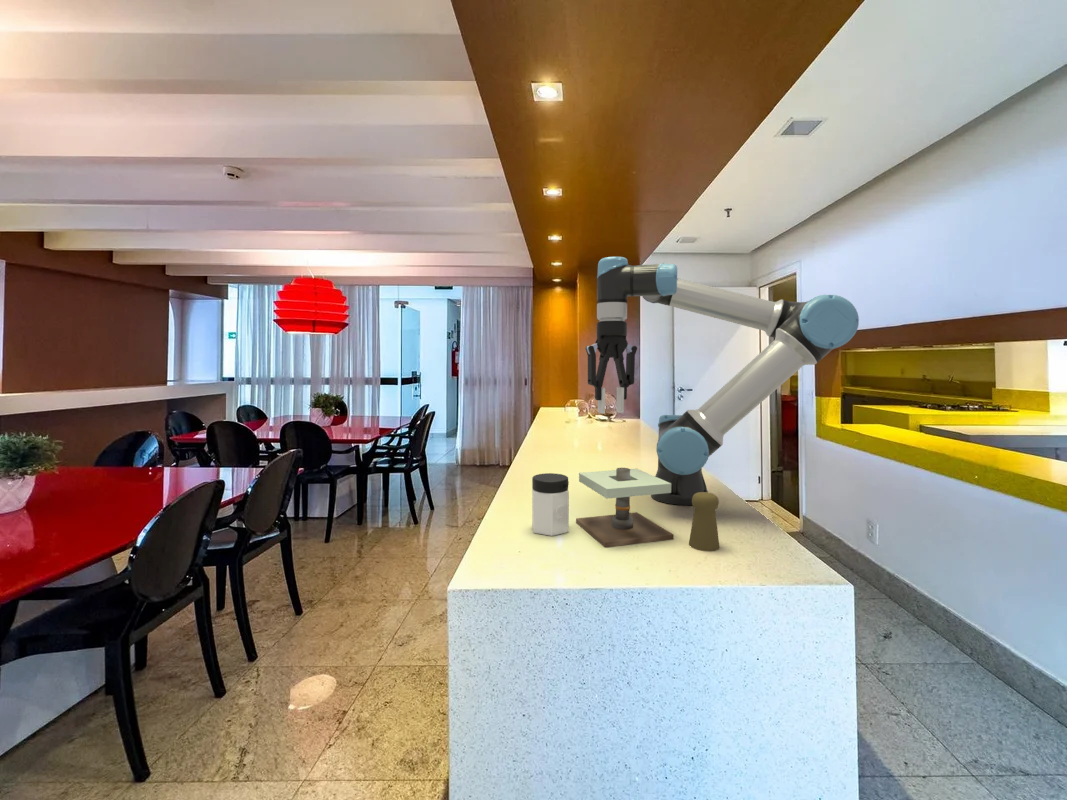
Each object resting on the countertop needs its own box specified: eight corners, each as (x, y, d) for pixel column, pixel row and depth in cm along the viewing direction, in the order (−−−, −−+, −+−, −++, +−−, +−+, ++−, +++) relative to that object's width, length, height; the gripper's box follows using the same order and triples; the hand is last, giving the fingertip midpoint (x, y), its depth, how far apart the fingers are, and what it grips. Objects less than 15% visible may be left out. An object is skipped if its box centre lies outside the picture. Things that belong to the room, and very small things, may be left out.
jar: (544, 538, 106) (544, 483, 105) (523, 528, 113) (523, 476, 112) (577, 530, 111) (577, 478, 110) (555, 520, 117) (555, 471, 116)
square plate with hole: (636, 476, 119) (636, 468, 119) (671, 492, 105) (671, 483, 105) (579, 481, 115) (579, 472, 115) (606, 498, 101) (606, 489, 100)
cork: (682, 542, 103) (683, 491, 103) (704, 538, 106) (706, 488, 105) (702, 553, 98) (704, 498, 97) (726, 548, 100) (727, 495, 99)
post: (636, 516, 121) (637, 459, 120) (673, 539, 105) (674, 474, 104) (575, 522, 116) (576, 464, 115) (605, 547, 101) (605, 480, 100)
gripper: (635, 322, 131) (634, 410, 133) (573, 321, 125) (573, 412, 127) (650, 320, 123) (648, 413, 125) (585, 319, 118) (584, 415, 120)
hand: (610, 412), depth 126 cm, fingers open, 4 cm apart
